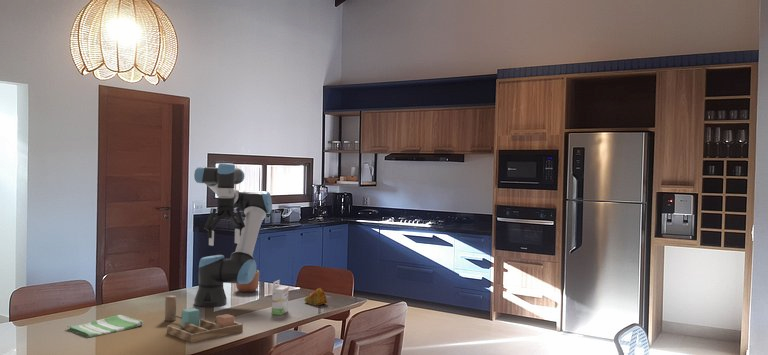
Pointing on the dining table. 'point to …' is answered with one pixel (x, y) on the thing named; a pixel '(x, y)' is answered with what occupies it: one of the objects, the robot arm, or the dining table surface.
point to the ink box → (279, 299)
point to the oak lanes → (203, 330)
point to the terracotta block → (225, 320)
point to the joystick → (187, 314)
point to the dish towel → (106, 326)
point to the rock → (316, 297)
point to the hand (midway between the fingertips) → (224, 244)
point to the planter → (249, 284)
